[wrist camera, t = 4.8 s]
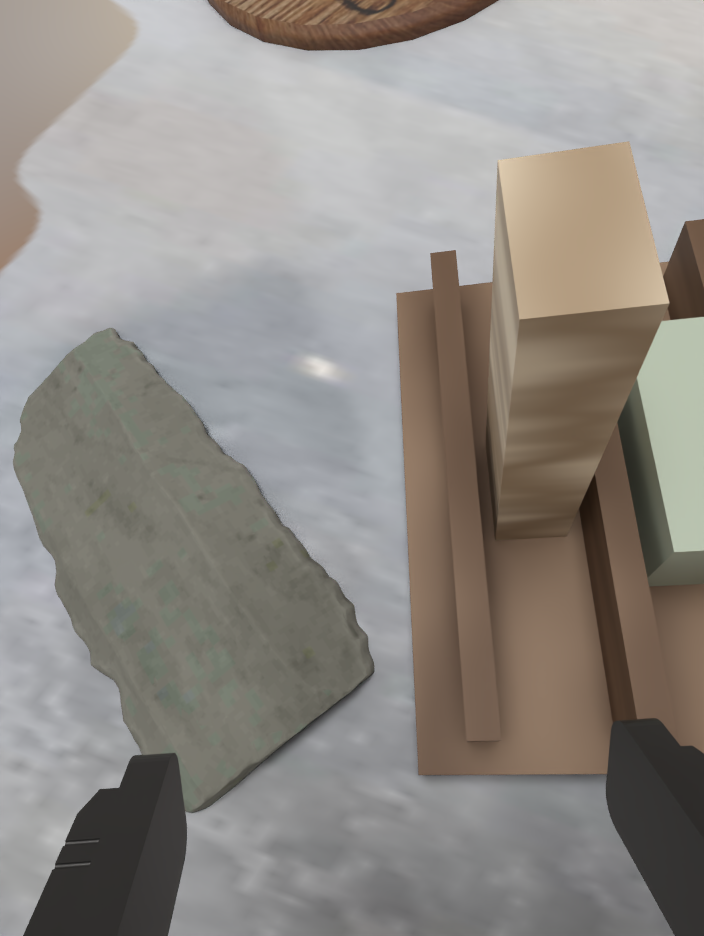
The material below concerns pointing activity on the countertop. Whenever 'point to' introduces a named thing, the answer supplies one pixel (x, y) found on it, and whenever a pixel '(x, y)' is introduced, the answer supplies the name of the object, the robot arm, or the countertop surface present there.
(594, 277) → the tall wooden post
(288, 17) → the trivet
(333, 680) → the stone slab
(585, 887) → the countertop surface
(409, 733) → the countertop surface
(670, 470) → the sage offcut
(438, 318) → the walnut rack
